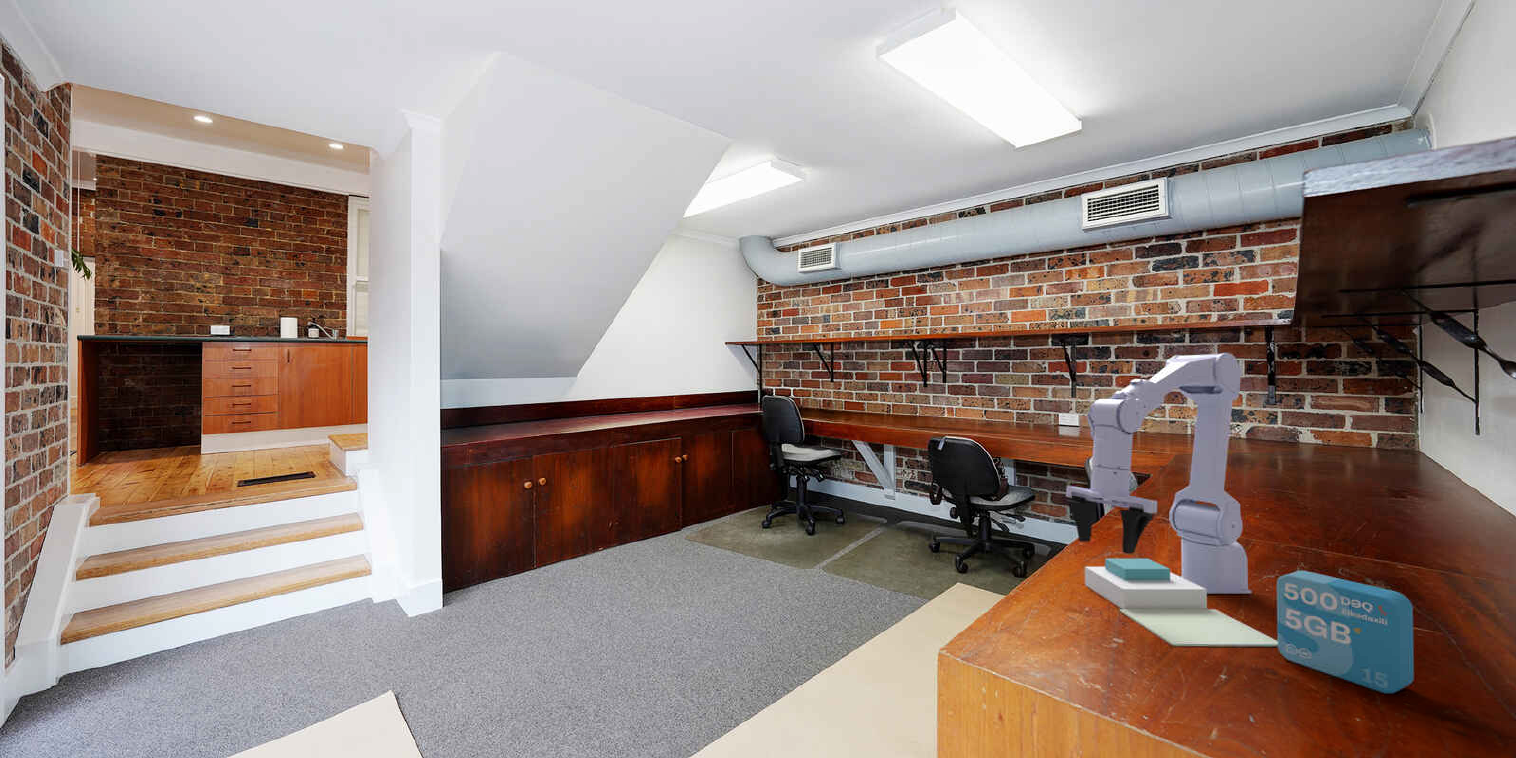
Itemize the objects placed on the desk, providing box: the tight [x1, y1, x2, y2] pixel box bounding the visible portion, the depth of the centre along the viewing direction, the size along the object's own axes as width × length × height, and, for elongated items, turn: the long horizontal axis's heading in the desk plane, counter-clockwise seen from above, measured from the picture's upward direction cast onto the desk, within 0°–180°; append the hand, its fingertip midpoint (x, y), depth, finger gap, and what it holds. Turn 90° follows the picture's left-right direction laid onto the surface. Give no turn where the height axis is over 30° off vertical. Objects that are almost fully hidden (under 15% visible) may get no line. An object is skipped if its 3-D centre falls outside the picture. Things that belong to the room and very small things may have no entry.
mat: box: [1119, 608, 1278, 647], centre depth 90 cm, size 16×13×1 cm
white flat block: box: [1084, 566, 1208, 609], centre depth 104 cm, size 14×12×4 cm
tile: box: [1104, 558, 1171, 580], centre depth 105 cm, size 8×6×2 cm
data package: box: [1276, 570, 1415, 694], centre depth 76 cm, size 12×4×12 cm, turn 26°
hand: (1105, 546), depth 98 cm, fingers open, 7 cm apart
